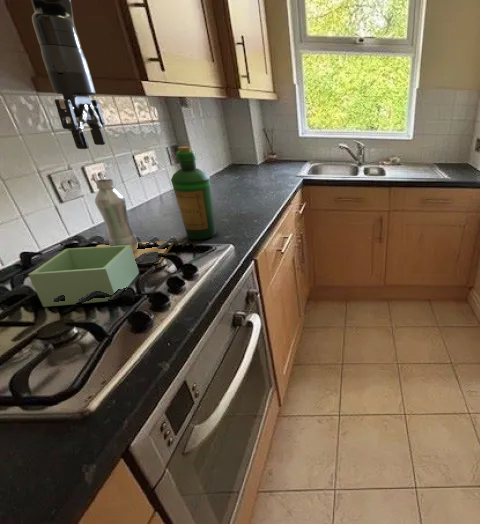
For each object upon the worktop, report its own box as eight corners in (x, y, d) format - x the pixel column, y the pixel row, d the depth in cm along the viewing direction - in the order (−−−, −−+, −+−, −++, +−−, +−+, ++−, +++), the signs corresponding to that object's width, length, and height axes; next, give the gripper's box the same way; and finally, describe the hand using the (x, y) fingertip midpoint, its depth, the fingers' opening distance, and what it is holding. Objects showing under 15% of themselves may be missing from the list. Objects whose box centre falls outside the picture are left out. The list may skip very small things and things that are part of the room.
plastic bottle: (124, 258, 90) (100, 184, 81) (106, 254, 92) (81, 181, 83) (145, 249, 95) (125, 179, 87) (128, 246, 97) (107, 177, 89)
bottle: (177, 236, 108) (156, 146, 96) (207, 228, 116) (191, 144, 104) (196, 244, 103) (176, 150, 91) (226, 235, 111) (211, 147, 99)
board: (73, 269, 86) (72, 265, 85) (99, 248, 98) (98, 244, 97) (159, 263, 90) (158, 259, 90) (173, 244, 102) (172, 240, 102)
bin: (43, 307, 70) (27, 274, 67) (77, 277, 82) (65, 248, 78) (116, 300, 73) (105, 268, 70) (139, 272, 85) (130, 244, 82)
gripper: (66, 72, 80) (88, 143, 86) (27, 66, 67) (57, 150, 74) (102, 74, 81) (121, 143, 88) (71, 69, 69) (95, 150, 76)
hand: (92, 146), depth 81 cm, fingers open, 8 cm apart
